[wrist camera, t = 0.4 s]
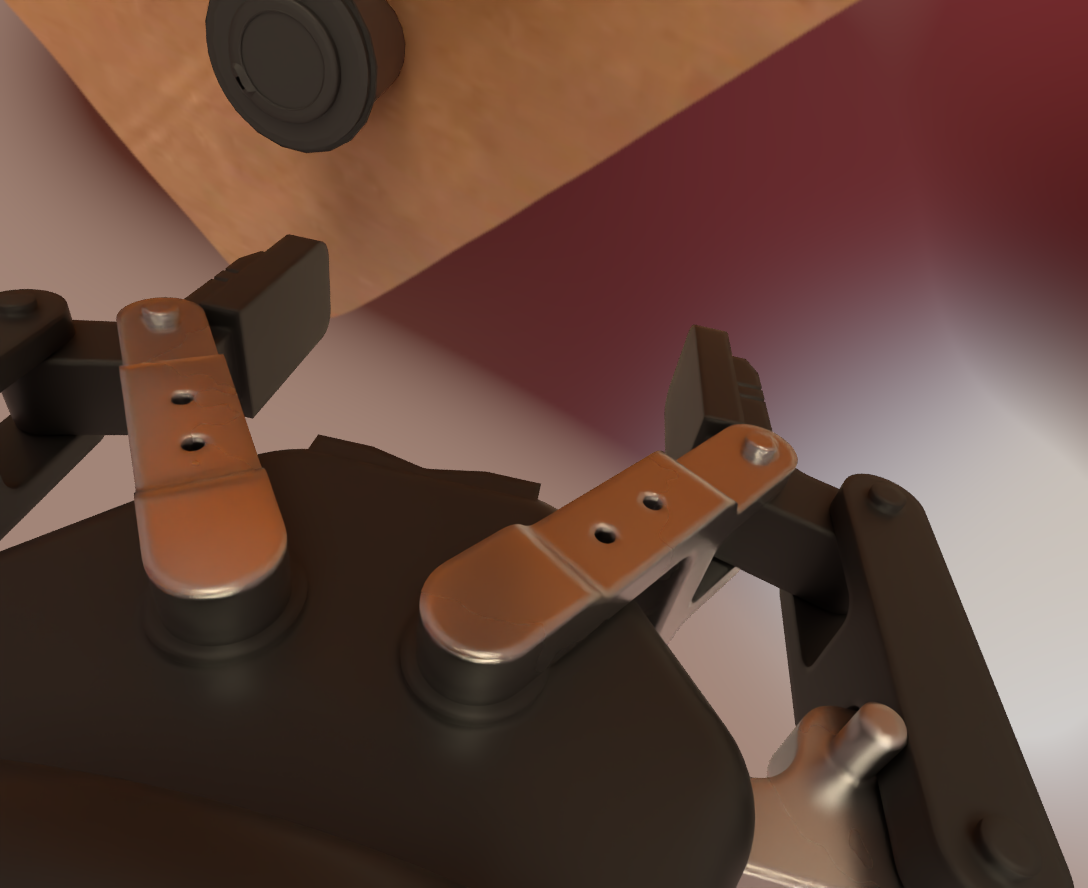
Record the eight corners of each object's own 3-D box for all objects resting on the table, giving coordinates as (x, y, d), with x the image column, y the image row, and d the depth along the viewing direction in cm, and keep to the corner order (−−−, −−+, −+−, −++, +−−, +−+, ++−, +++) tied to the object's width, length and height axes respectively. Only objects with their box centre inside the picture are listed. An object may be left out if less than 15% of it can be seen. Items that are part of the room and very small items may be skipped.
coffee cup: (266, 51, 38) (165, 75, 30) (329, -88, 34) (231, -104, 26) (383, 149, 40) (318, 194, 32) (456, 30, 36) (402, 49, 28)
